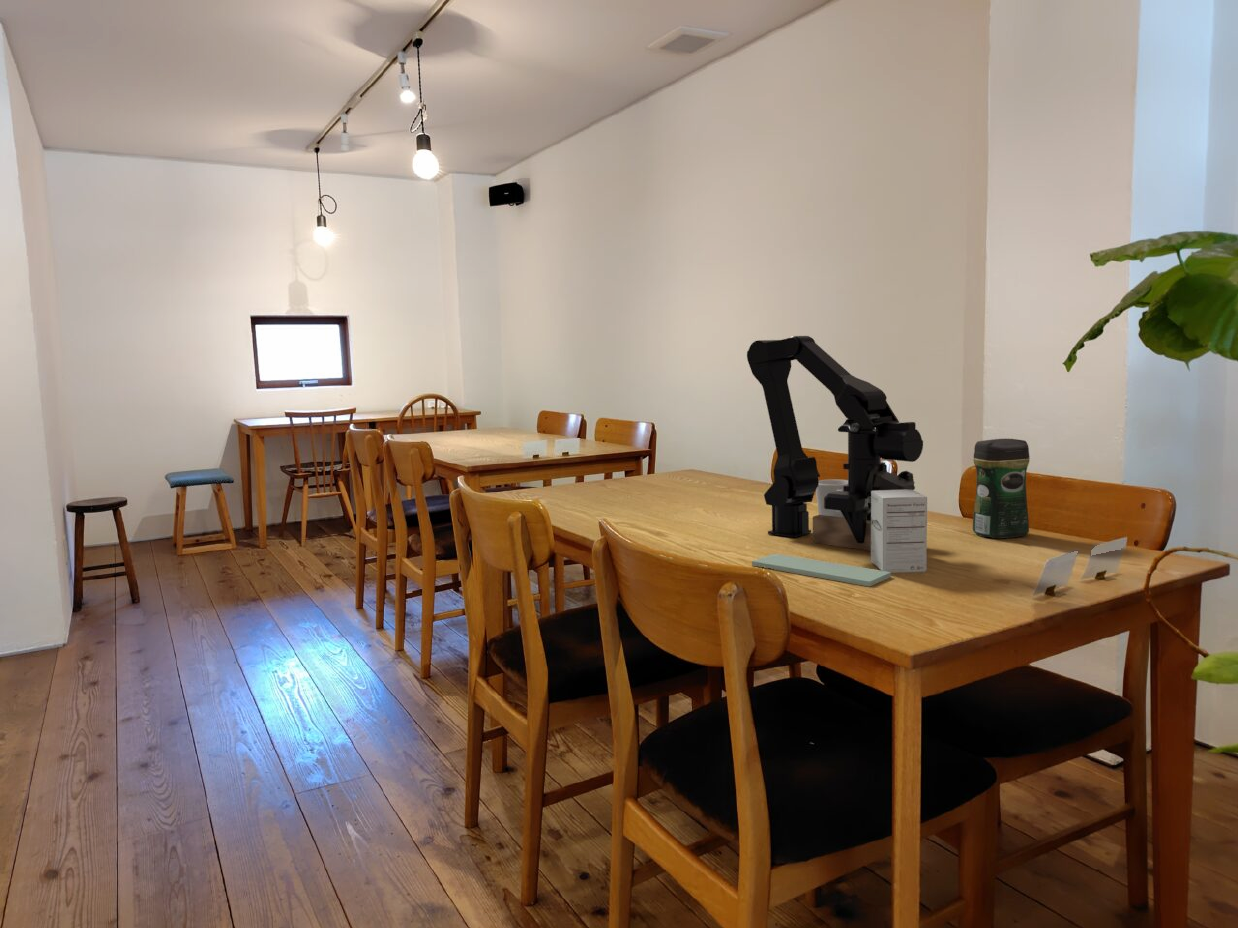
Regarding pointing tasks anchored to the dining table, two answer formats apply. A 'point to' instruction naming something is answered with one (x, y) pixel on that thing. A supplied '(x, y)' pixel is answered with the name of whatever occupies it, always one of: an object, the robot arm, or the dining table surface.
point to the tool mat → (823, 569)
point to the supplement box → (899, 530)
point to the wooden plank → (838, 532)
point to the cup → (824, 489)
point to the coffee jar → (1001, 488)
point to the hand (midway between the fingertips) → (864, 541)
